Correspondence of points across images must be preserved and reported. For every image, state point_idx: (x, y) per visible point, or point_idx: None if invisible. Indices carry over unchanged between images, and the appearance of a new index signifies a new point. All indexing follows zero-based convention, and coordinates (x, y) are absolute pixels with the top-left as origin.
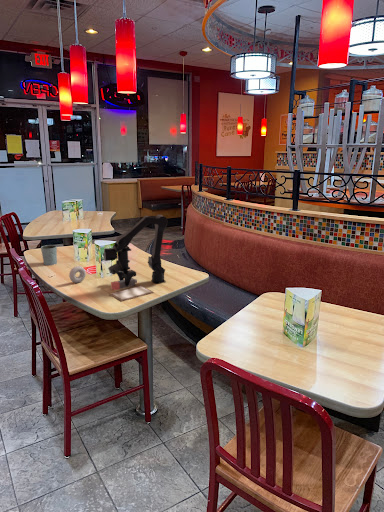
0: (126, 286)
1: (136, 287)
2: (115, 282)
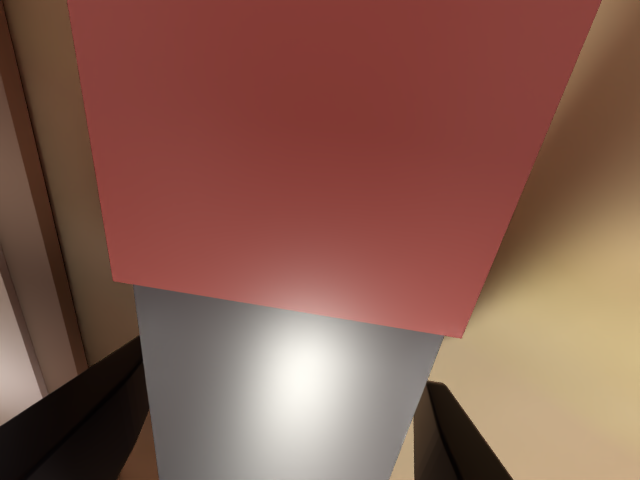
0: None
1: None
2: (298, 186)
